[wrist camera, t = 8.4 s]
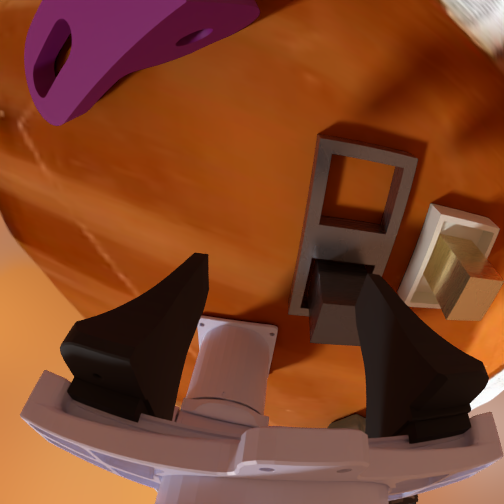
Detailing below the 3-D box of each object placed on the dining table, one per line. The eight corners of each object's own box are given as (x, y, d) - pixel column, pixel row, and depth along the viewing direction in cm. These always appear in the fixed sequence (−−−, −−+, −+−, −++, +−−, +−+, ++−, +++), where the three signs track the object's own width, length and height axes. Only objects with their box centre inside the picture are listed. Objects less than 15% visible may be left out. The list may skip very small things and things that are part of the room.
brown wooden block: (454, 276, 23) (480, 320, 18) (422, 272, 23) (446, 319, 18) (471, 240, 21) (504, 281, 16) (438, 233, 21) (470, 276, 16)
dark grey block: (350, 295, 26) (360, 345, 21) (307, 290, 26) (310, 342, 21) (362, 259, 24) (378, 308, 19) (316, 253, 24) (322, 303, 19)
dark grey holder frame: (360, 309, 26) (363, 321, 25) (288, 302, 27) (288, 314, 25) (409, 153, 18) (418, 158, 17) (317, 133, 19) (320, 138, 17)
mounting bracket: (124, 105, 24) (283, 11, 13) (50, 141, 19) (187, 2, 8) (92, 33, 20) (225, -85, 8) (17, 57, 14) (124, -111, 3)
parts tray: (453, 296, 25) (460, 309, 23) (397, 291, 25) (402, 306, 23) (488, 217, 20) (500, 228, 18) (430, 203, 20) (441, 214, 18)
